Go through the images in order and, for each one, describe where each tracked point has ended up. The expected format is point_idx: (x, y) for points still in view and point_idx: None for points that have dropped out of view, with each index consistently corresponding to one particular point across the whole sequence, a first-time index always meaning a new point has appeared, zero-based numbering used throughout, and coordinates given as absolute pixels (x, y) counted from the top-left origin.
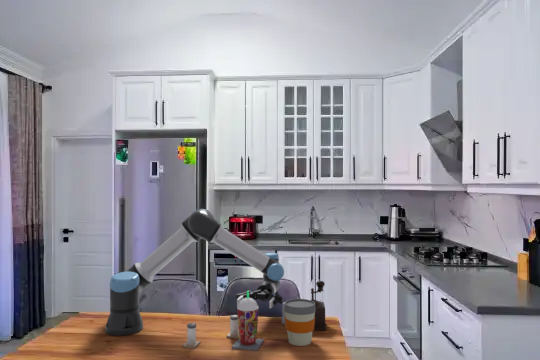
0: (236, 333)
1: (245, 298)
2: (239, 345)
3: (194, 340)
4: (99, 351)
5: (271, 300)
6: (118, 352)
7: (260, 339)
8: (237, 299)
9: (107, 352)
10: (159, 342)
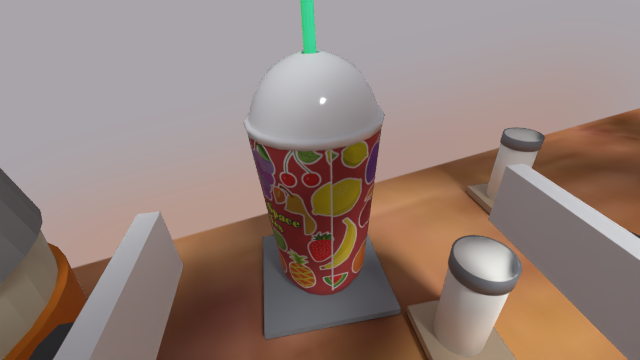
0: (435, 317)
1: (322, 50)
2: None
3: (489, 183)
4: (623, 127)
5: (123, 252)
6: (586, 134)
7: (281, 323)
8: (523, 165)
9: (603, 129)
10: (606, 185)
